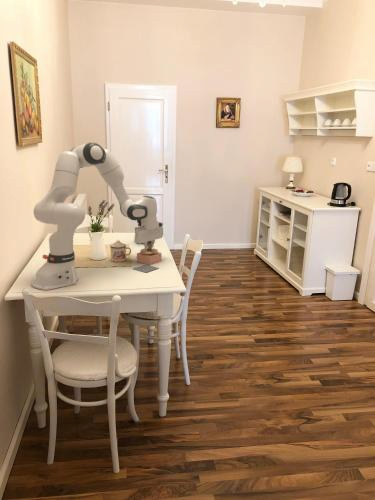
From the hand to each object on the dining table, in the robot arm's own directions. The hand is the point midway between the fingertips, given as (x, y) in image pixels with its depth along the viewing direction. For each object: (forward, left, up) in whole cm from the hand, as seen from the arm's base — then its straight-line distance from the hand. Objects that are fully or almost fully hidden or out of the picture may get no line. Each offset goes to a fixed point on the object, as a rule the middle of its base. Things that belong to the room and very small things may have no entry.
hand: (149, 248), depth 232 cm
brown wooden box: (+27, +31, -8) cm, 42 cm away
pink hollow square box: (0, 0, -8) cm, 8 cm away
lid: (0, 0, -2) cm, 2 cm away
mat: (-11, -8, -8) cm, 16 cm away
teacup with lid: (-9, +14, -8) cm, 18 cm away
